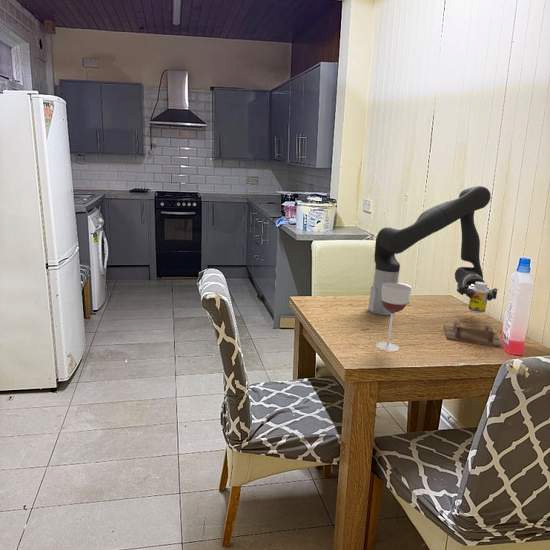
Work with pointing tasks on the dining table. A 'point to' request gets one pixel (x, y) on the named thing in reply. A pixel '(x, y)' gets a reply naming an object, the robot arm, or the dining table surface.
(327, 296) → the dining table surface
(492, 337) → the flat brown tray
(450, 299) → the dining table surface
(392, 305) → the wineglass
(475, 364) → the dining table surface
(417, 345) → the dining table surface
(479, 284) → the supplement bottle
